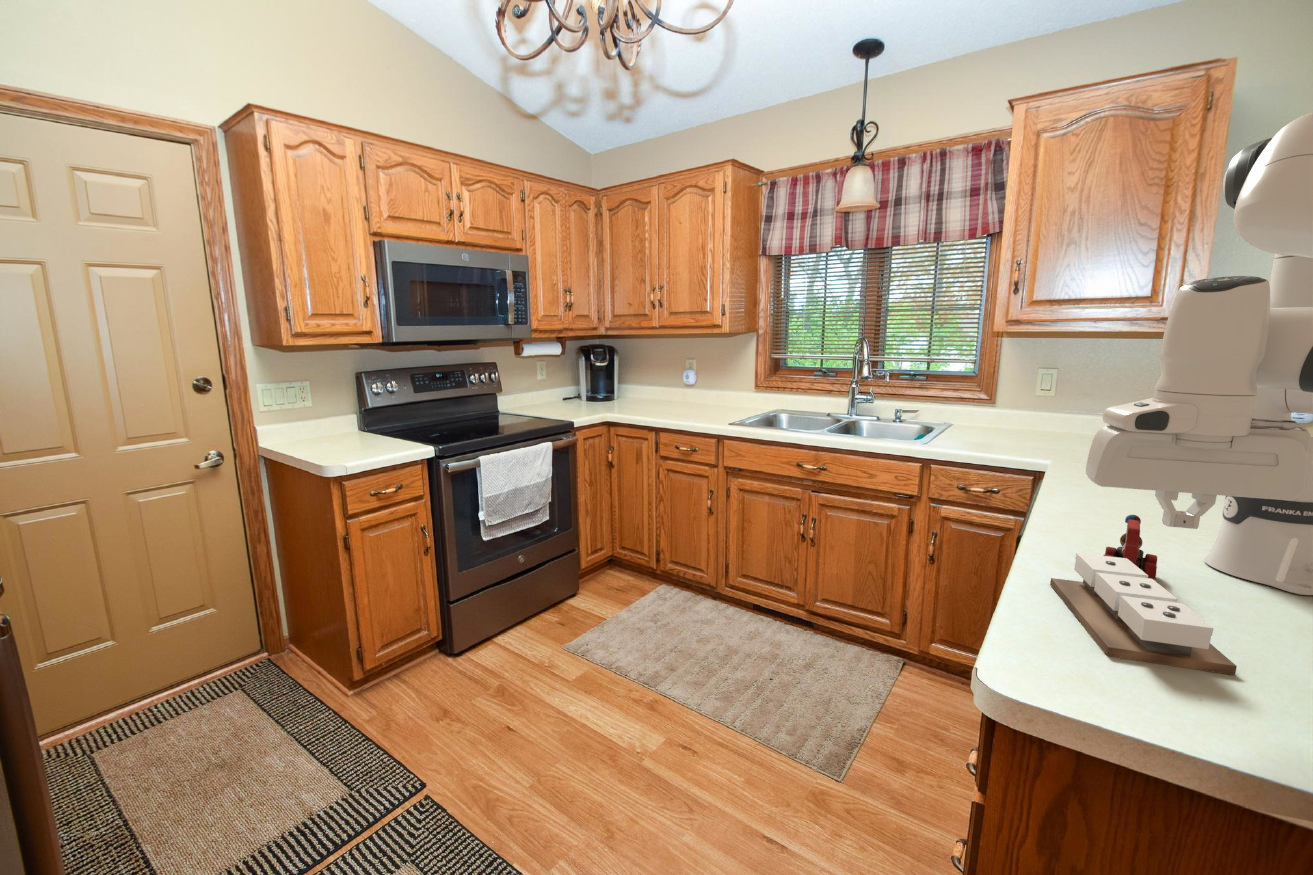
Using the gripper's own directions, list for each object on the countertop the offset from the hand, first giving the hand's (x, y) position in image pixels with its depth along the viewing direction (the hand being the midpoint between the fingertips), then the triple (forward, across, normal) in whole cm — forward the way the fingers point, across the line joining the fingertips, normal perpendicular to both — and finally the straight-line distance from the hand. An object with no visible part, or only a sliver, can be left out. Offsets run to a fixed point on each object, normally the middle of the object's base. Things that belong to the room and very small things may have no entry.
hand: (1179, 526), depth 70 cm
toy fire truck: (+17, -7, -27) cm, 33 cm away
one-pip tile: (+14, 0, -16) cm, 21 cm away
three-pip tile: (+14, 0, 0) cm, 14 cm away
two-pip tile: (+14, 0, -8) cm, 16 cm away
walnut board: (+17, 0, -8) cm, 19 cm away
